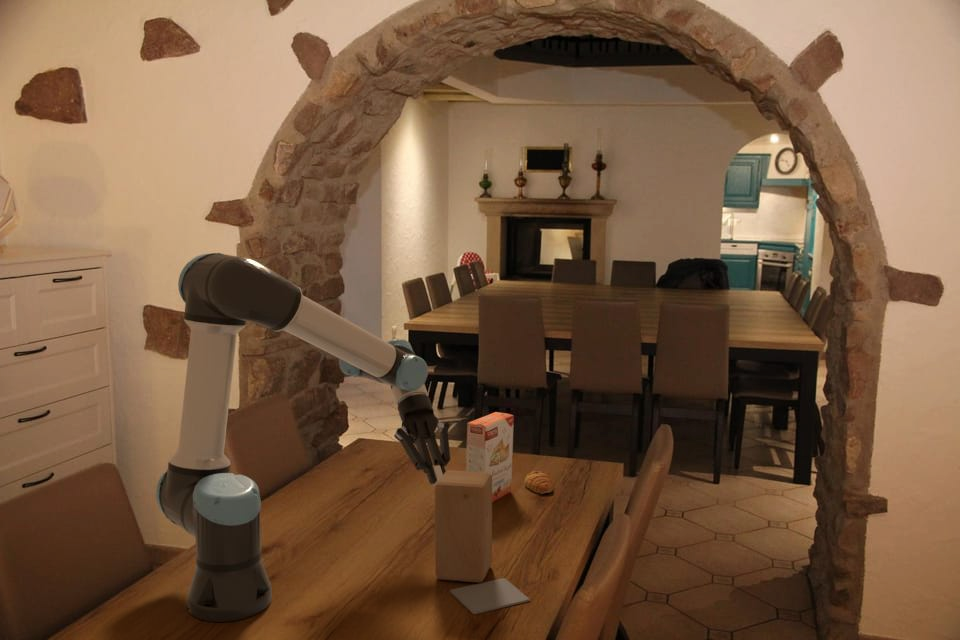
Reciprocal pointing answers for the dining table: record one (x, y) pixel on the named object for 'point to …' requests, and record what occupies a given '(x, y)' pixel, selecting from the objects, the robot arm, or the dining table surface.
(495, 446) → the cracker box
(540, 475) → the pastry
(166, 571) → the dining table surface
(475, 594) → the felt pad
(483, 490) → the wooden block
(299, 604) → the dining table surface
